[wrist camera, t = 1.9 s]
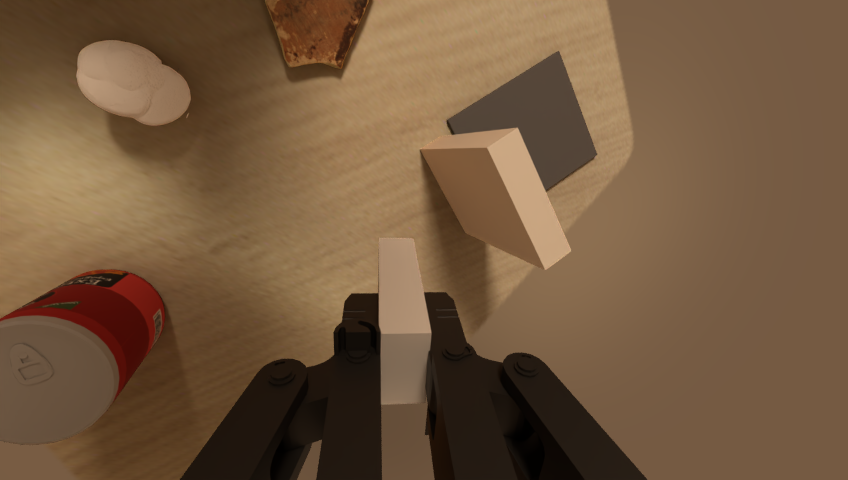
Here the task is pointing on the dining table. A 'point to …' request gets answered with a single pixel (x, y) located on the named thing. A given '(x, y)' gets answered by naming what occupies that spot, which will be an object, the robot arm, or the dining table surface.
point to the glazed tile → (498, 193)
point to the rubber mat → (536, 119)
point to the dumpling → (131, 82)
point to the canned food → (73, 354)
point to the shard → (316, 29)
